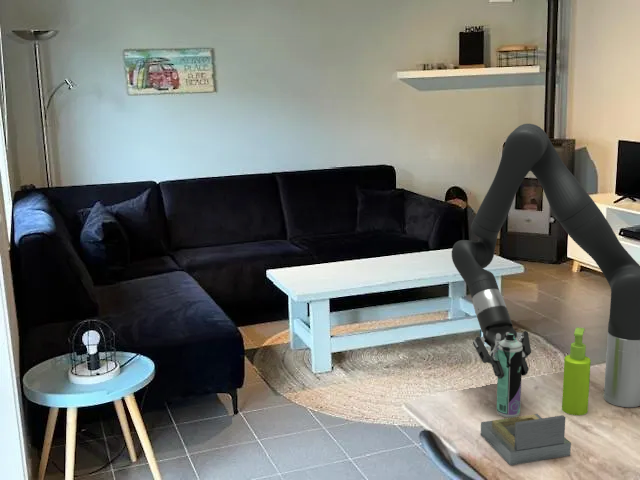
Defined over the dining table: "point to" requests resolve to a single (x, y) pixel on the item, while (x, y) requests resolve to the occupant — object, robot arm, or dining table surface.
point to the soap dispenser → (576, 377)
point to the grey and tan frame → (527, 438)
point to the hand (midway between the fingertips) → (513, 375)
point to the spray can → (509, 377)
